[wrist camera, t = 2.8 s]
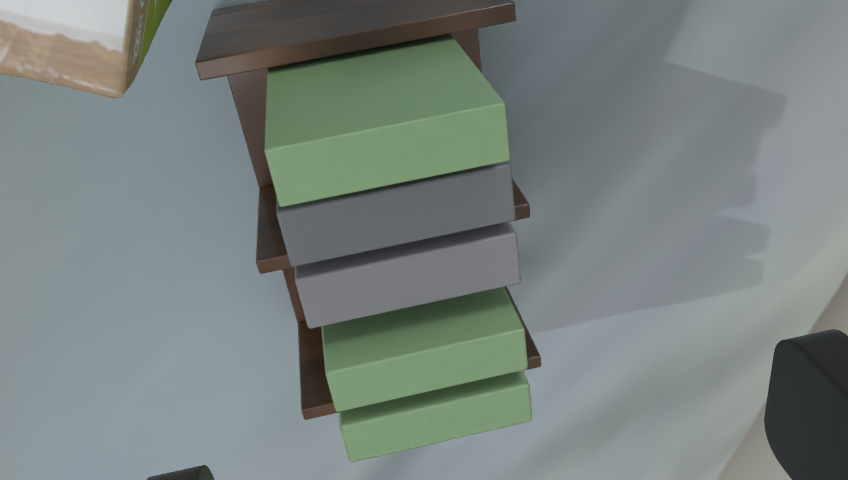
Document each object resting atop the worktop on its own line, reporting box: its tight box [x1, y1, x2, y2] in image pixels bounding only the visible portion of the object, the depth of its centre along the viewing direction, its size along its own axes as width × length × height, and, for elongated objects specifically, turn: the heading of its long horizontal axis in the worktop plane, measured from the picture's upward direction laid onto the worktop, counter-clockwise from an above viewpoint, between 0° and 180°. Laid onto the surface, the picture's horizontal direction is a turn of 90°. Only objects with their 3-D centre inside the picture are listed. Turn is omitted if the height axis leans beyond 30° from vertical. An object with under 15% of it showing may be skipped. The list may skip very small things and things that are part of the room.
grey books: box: [277, 161, 521, 328], centre depth 26 cm, size 6×4×11 cm, turn 98°
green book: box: [265, 34, 510, 207], centre depth 23 cm, size 6×2×12 cm, turn 98°
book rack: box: [195, 0, 541, 420], centre depth 30 cm, size 10×15×7 cm, turn 8°
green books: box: [321, 287, 532, 462], centre depth 28 cm, size 6×4×12 cm, turn 98°
